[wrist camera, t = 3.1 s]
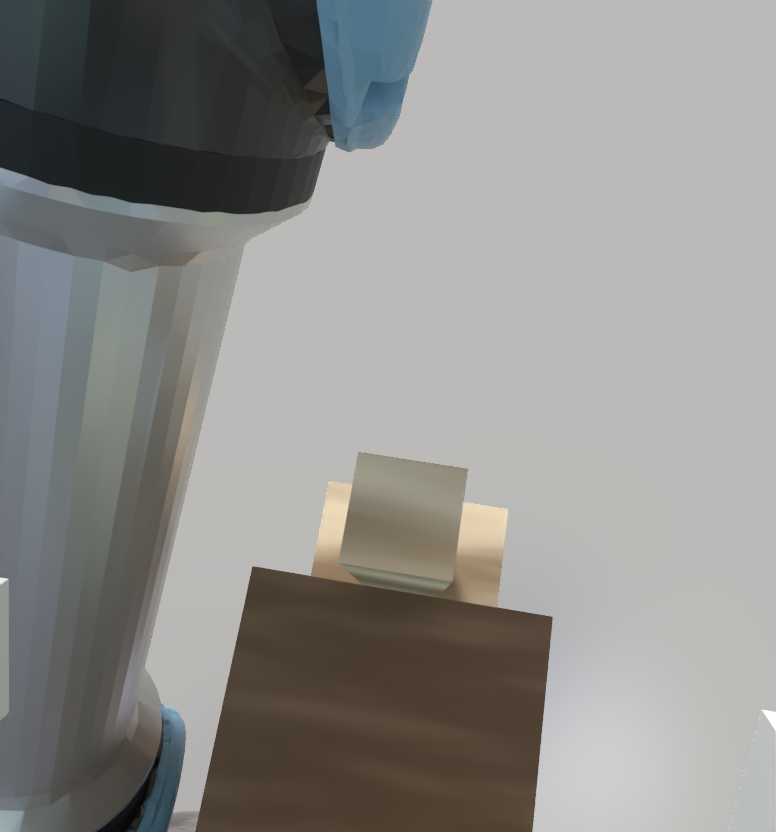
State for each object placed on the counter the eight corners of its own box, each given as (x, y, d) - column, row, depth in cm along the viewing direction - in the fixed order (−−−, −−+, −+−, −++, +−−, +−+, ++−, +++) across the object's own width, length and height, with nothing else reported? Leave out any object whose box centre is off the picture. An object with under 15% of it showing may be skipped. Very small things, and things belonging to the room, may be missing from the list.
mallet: (569, 601, 18) (586, 414, 19) (226, 543, 18) (266, 368, 20) (485, 615, 38) (496, 523, 39) (322, 587, 39) (338, 498, 40)
